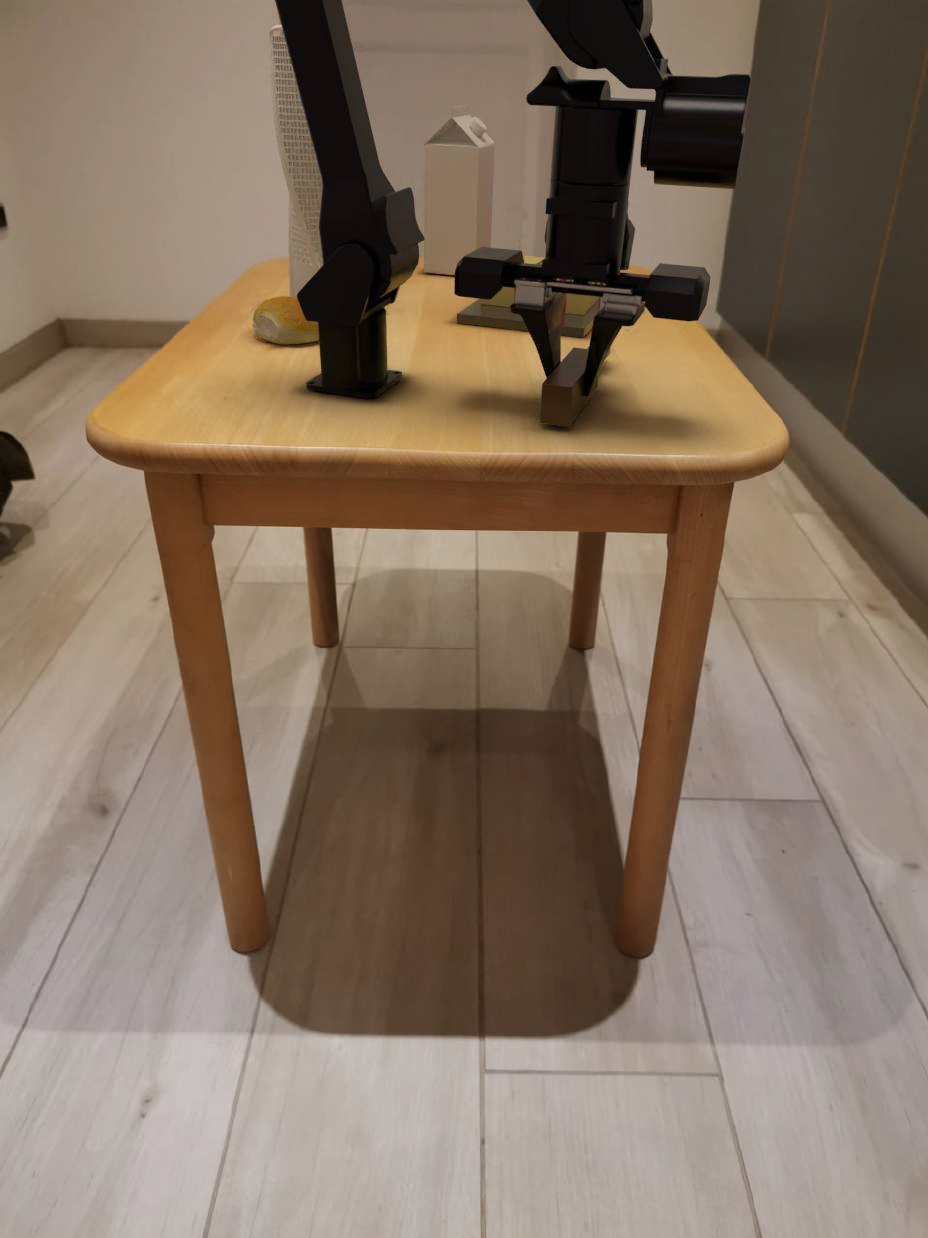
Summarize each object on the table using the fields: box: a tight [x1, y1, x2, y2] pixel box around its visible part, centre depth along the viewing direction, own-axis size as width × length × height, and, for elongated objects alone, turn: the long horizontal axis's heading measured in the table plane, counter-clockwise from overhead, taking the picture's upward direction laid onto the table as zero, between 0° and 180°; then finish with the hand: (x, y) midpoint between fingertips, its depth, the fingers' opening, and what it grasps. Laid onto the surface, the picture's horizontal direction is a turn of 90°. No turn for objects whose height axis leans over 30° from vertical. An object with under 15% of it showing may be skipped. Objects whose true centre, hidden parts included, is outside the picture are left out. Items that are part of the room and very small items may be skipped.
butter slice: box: [565, 280, 600, 315], centre depth 98 cm, size 8×2×4 cm, turn 160°
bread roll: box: [252, 295, 319, 345], centre depth 89 cm, size 8×9×4 cm
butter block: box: [481, 254, 545, 307], centre depth 100 cm, size 8×5×4 cm, turn 160°
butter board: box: [456, 292, 605, 339], centre depth 99 cm, size 16×14×1 cm
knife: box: [539, 346, 612, 428], centre depth 76 cm, size 20×2×3 cm, turn 160°
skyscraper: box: [268, 23, 323, 297], centre depth 92 cm, size 8×8×28 cm
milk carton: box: [423, 104, 495, 276], centre depth 112 cm, size 7×7×19 cm
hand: (570, 392), depth 72 cm, fingers closed on knife, 2 cm apart
